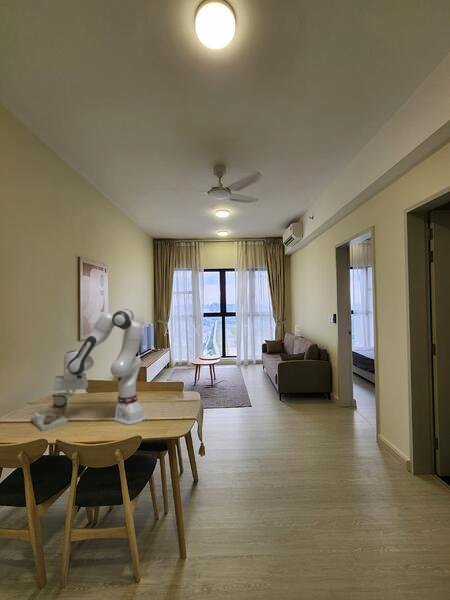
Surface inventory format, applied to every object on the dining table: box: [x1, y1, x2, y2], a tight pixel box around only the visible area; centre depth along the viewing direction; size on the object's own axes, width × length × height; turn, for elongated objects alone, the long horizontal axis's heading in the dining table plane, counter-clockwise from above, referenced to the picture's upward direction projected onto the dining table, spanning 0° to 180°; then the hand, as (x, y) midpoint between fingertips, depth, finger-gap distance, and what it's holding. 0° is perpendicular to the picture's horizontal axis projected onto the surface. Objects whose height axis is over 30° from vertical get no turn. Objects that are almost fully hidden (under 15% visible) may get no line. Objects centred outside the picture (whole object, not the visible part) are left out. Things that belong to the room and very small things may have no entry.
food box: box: [31, 409, 69, 432], centre depth 184 cm, size 24×14×6 cm, turn 46°
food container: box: [51, 392, 69, 410], centre depth 210 cm, size 12×6×10 cm, turn 74°
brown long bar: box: [44, 408, 66, 424], centre depth 183 cm, size 18×4×4 cm, turn 1°
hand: (70, 396), depth 189 cm, fingers closed
